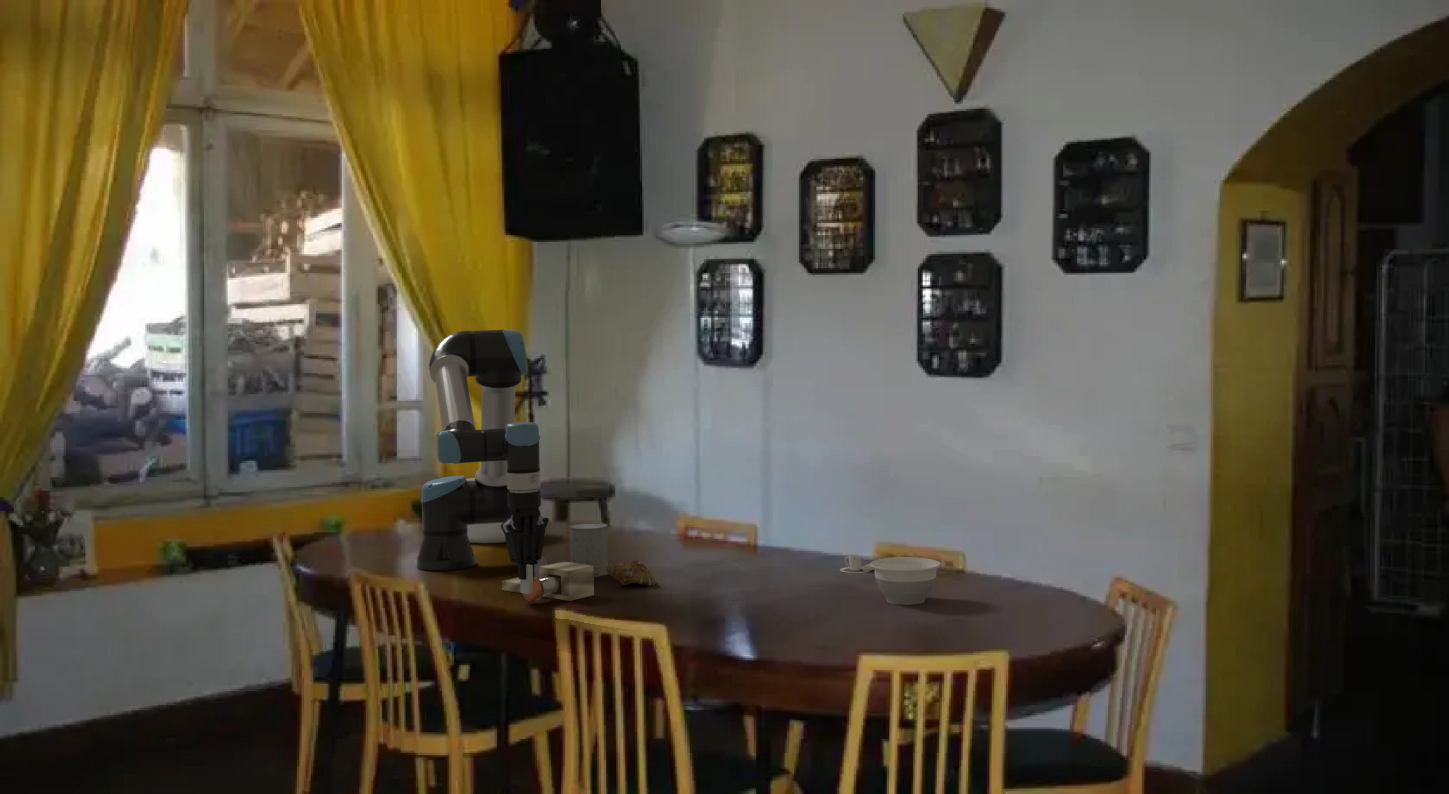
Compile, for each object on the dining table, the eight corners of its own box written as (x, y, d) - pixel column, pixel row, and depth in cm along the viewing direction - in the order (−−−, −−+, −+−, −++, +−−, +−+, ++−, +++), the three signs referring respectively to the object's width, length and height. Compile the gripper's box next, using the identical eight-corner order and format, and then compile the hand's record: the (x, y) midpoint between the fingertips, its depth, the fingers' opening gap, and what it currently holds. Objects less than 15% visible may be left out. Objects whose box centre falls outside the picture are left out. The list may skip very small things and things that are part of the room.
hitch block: (502, 590, 350) (501, 561, 350) (526, 584, 357) (525, 556, 356) (569, 601, 336) (569, 571, 336) (594, 595, 342) (593, 565, 342)
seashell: (634, 602, 348) (613, 567, 347) (620, 602, 355) (599, 568, 354) (663, 580, 353) (642, 546, 351) (648, 580, 360) (627, 547, 358)
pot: (527, 544, 416) (526, 486, 415) (442, 546, 417) (440, 487, 415) (540, 530, 442) (538, 475, 441) (460, 531, 442) (458, 476, 441)
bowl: (923, 610, 318) (923, 572, 318) (858, 604, 327) (857, 566, 326) (952, 597, 332) (952, 560, 331) (889, 591, 340) (888, 555, 340)
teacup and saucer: (880, 571, 367) (880, 555, 366) (860, 576, 361) (860, 560, 361) (852, 567, 373) (852, 551, 373) (833, 572, 367) (833, 556, 367)
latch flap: (512, 551, 348) (514, 548, 347) (533, 547, 353) (536, 544, 353) (535, 586, 344) (537, 583, 343) (556, 581, 349) (558, 578, 349)
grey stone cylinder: (602, 577, 364) (601, 528, 363) (565, 576, 366) (564, 528, 365) (612, 570, 373) (611, 523, 372) (577, 569, 375) (575, 522, 374)
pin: (521, 600, 335) (521, 577, 334) (565, 590, 345) (564, 568, 345) (537, 602, 331) (537, 580, 331) (581, 592, 342) (580, 570, 342)
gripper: (513, 495, 323) (516, 599, 325) (556, 488, 333) (558, 590, 335) (491, 492, 328) (494, 596, 330) (533, 486, 338) (536, 586, 340)
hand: (526, 592), depth 332 cm, fingers closed
